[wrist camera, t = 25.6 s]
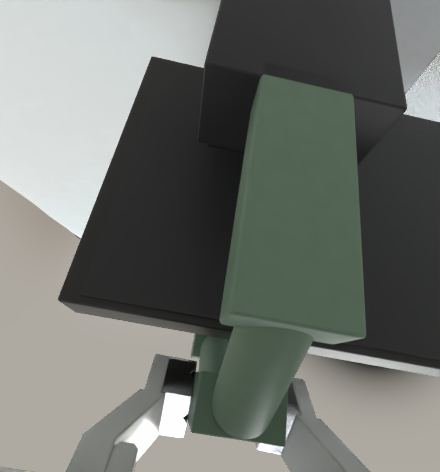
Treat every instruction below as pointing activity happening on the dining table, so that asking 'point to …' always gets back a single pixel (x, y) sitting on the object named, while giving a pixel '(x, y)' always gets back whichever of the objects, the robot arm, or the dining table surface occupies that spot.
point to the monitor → (224, 207)
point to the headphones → (290, 193)
